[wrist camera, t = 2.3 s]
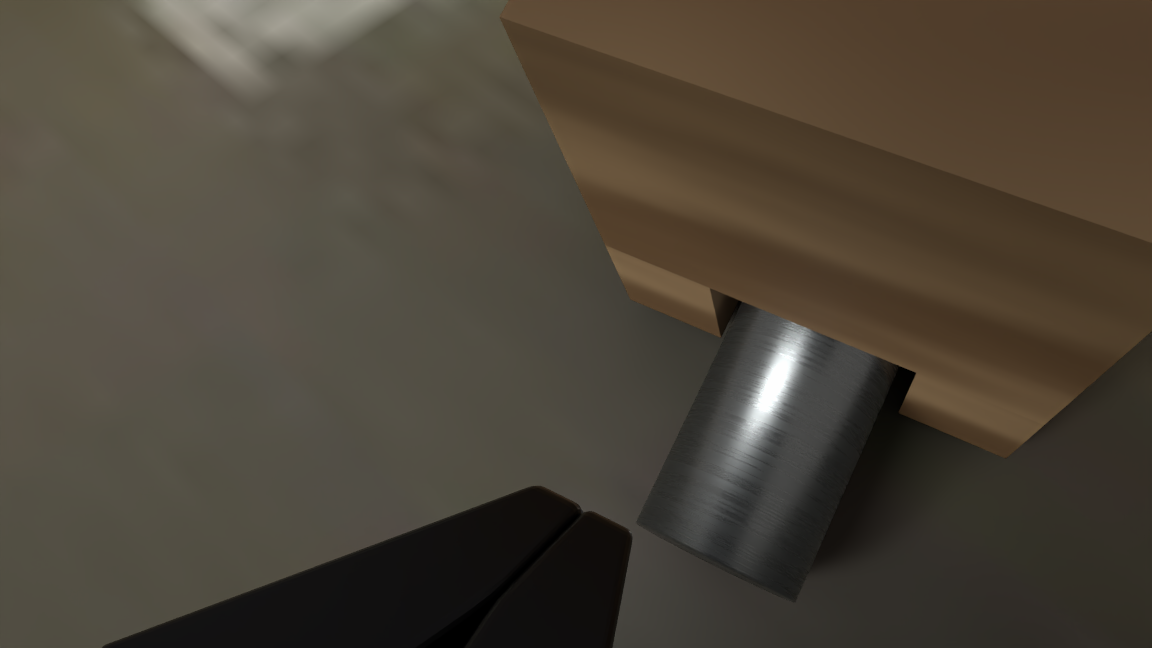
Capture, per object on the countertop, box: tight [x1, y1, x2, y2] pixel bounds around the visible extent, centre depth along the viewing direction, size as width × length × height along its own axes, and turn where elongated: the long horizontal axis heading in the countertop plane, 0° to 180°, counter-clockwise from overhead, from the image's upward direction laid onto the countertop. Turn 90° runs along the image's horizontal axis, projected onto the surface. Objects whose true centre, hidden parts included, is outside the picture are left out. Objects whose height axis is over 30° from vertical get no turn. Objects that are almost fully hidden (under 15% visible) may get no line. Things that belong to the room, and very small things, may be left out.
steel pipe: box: [636, 302, 900, 602], centre depth 19 cm, size 16×3×3 cm, turn 153°
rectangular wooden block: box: [500, 0, 1152, 458], centre depth 15 cm, size 4×8×10 cm, turn 63°
